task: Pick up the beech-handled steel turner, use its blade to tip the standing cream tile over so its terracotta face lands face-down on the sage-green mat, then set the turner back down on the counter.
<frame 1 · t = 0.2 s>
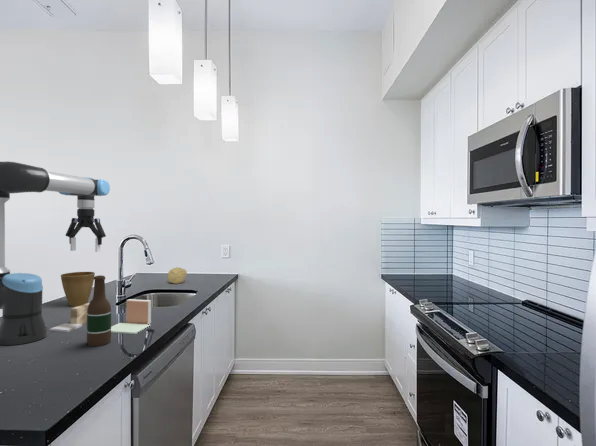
hand: (85, 251, 186), 28 cm above the worktop, tool pointing down, fingers open, 13 cm apart
beer bottle: (98, 343, 133), on the worktop
beige lumpy ball: (176, 283, 256), on the worktop
turner: (84, 321, 159), on the worktop
mat: (127, 329, 150), on the worktop
tile: (138, 323, 157), on the worktop
plant pot: (77, 305, 188), on the worktop
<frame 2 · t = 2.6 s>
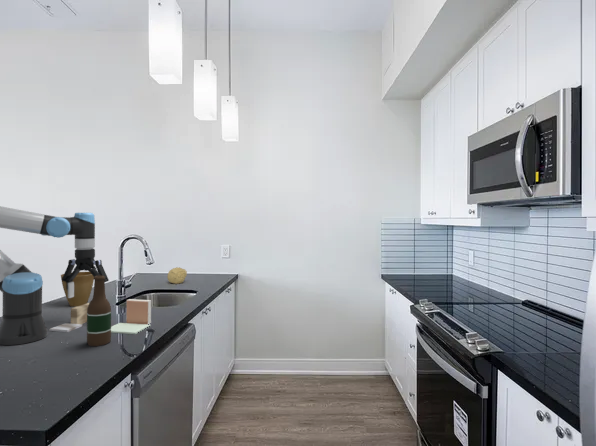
hand: (85, 298, 159), 10 cm above the worktop, tool pointing down, fingers open, 13 cm apart
nothing on the worktop moved.
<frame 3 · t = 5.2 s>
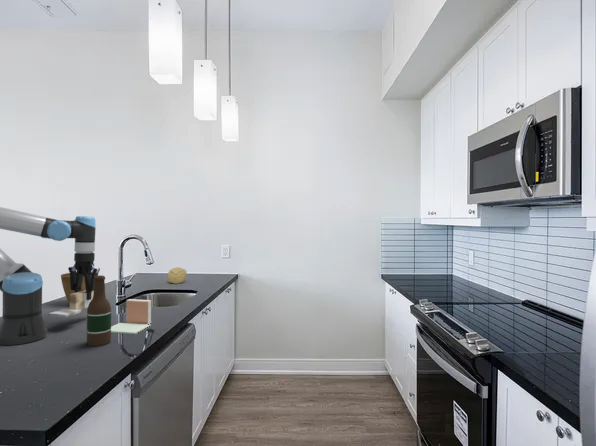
hand: (82, 307, 159), 6 cm above the worktop, tool pointing down, fingers closed on turner, 3 cm apart
turner: (82, 308, 159), point 6 cm above the worktop, touching gripper
everything else where it was.
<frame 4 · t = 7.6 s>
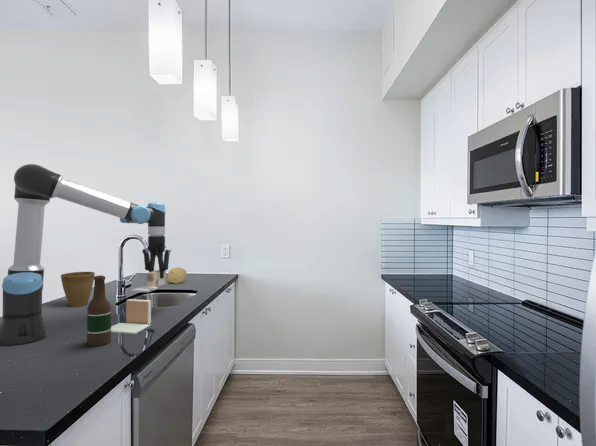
hand: (156, 285, 175), 13 cm above the worktop, tool pointing down, fingers closed on turner, 3 cm apart
turner: (156, 285, 175), point 13 cm above the worktop, touching gripper
everything else where it was.
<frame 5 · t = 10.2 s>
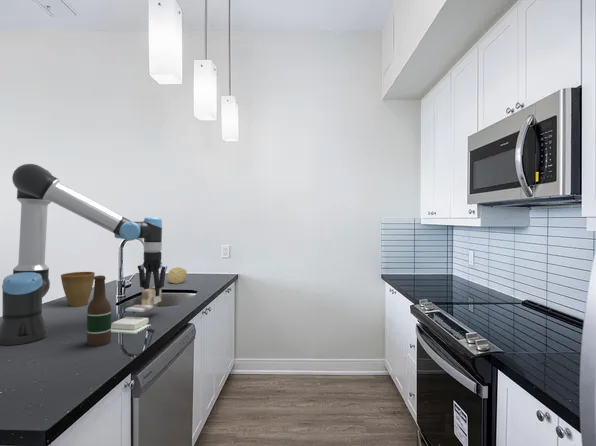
hand: (151, 303, 168), 6 cm above the worktop, tool pointing down, fingers closed on turner, 3 cm apart
turner: (151, 303, 168), point 6 cm above the worktop, touching gripper
tile: (137, 319, 156), point 2 cm above the worktop, tilted 90°, touching mat
everything else where it was.
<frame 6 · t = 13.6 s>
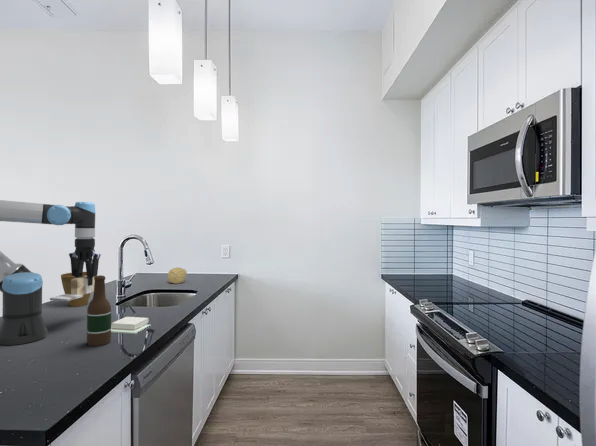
hand: (84, 292, 159), 12 cm above the worktop, tool pointing down, fingers closed on turner, 3 cm apart
turner: (84, 293, 159), point 12 cm above the worktop, touching gripper
everything else where it was.
when the fingers open (0 cm above the worktop, at t = 16.1 s): turner stays where it is, on the worktop.
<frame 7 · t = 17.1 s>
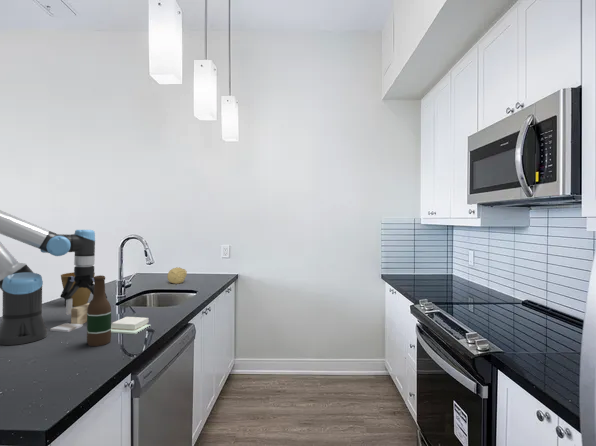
hand: (83, 315, 159), 3 cm above the worktop, tool pointing down, fingers open, 13 cm apart
turner: (84, 321, 159), on the worktop
everything else where it was.
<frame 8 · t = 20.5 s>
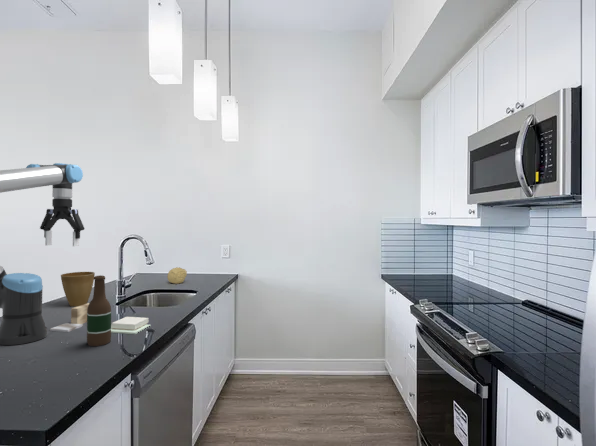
hand: (62, 245, 167), 32 cm above the worktop, tool pointing down, fingers open, 13 cm apart
nothing on the worktop moved.
at the end: tile tilted 90°; tile touching mat; turner inside the target area (0.2 cm from its centre), on the worktop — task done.
